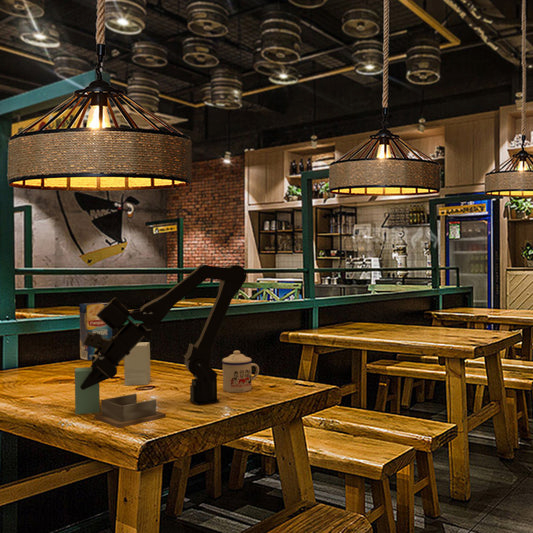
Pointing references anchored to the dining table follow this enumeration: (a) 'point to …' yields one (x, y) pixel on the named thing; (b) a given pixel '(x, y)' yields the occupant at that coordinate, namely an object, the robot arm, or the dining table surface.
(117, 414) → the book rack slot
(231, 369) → the teacup with lid
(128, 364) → the supplement box
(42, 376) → the dining table surface
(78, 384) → the teal green rectangular block
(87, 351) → the beverage box
